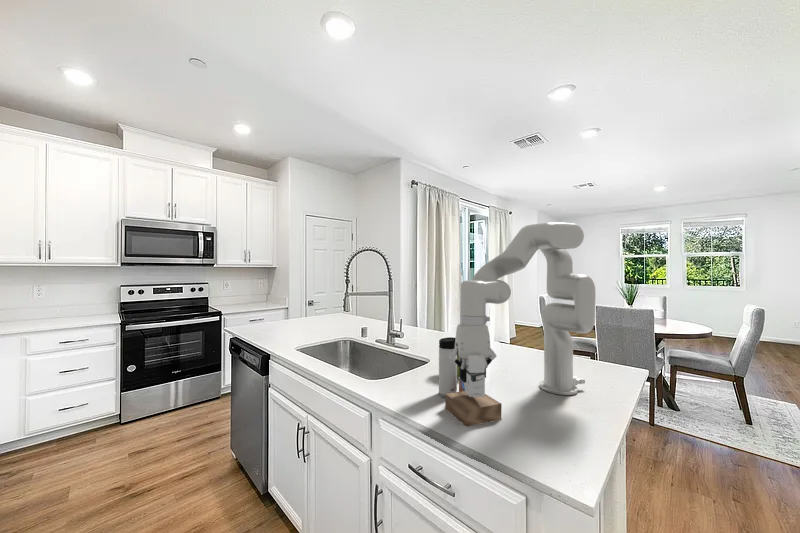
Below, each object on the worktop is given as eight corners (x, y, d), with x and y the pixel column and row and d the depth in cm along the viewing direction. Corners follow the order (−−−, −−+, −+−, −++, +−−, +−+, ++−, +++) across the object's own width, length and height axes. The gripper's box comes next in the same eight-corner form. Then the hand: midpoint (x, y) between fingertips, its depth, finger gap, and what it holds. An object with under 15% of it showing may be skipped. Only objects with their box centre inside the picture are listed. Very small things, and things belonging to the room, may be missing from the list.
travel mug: (457, 399, 106) (457, 340, 106) (438, 397, 108) (438, 339, 108) (457, 392, 112) (458, 336, 113) (439, 390, 114) (439, 335, 114)
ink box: (460, 386, 100) (461, 349, 100) (476, 386, 100) (476, 349, 100) (468, 397, 91) (469, 356, 91) (485, 397, 92) (485, 356, 92)
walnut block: (477, 404, 103) (477, 389, 103) (501, 420, 92) (501, 403, 92) (445, 409, 99) (445, 393, 99) (466, 427, 88) (466, 409, 88)
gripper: (493, 318, 101) (493, 375, 101) (442, 319, 98) (442, 377, 98) (505, 322, 93) (504, 383, 93) (449, 323, 91) (449, 386, 91)
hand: (472, 379), depth 96 cm, fingers closed on ink box, 5 cm apart
